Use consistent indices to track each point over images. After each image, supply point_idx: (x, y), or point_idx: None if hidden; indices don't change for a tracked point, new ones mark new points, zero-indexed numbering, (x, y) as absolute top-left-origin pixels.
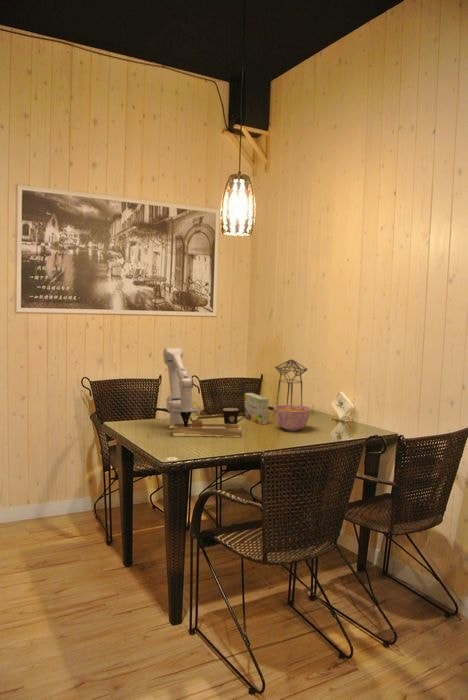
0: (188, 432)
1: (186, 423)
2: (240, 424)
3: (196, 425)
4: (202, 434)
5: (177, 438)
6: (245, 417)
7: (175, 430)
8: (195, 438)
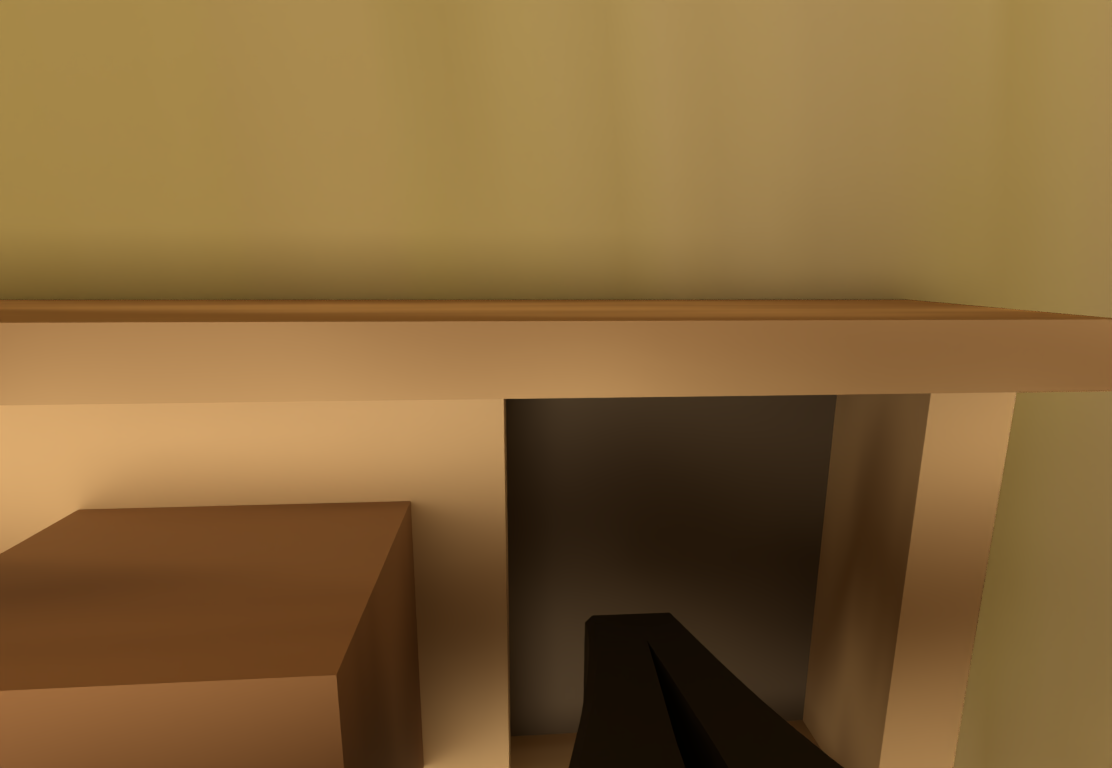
0: (503, 306)
1: (628, 681)
2: None
3: (181, 579)
4: (84, 303)
5: (768, 102)
6: None
7: (929, 309)
8: (294, 119)
